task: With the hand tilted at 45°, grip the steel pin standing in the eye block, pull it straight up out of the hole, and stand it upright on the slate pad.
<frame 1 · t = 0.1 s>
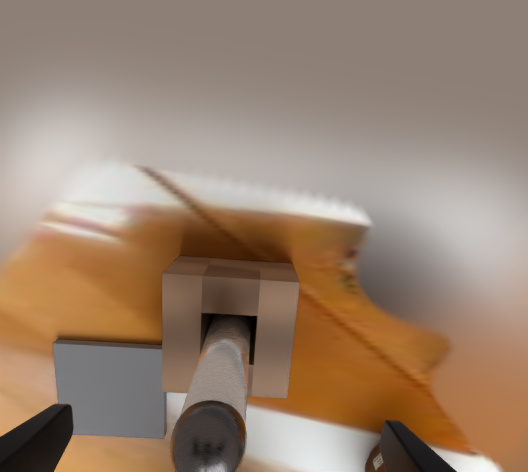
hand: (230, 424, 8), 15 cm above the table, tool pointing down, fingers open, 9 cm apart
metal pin: (233, 311, 23), resting in eye block
eye block: (233, 311, 23), on the table
slate pad: (114, 388, 25), on the table
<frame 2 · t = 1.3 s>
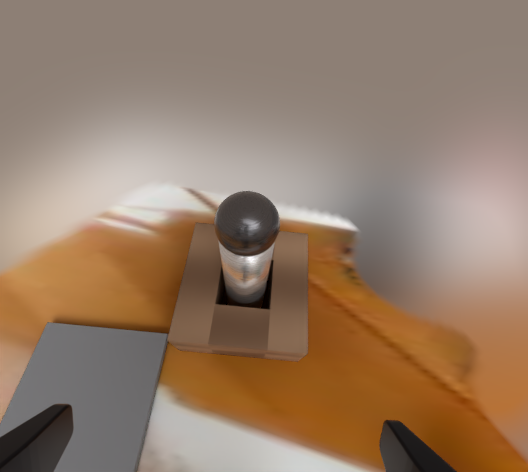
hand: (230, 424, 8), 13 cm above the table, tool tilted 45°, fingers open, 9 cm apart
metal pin: (245, 298, 24), resting in eye block
eye block: (245, 298, 24), on the table
slate pad: (87, 396, 19), on the table
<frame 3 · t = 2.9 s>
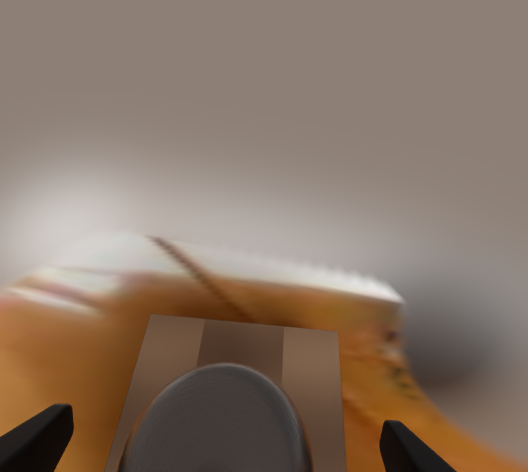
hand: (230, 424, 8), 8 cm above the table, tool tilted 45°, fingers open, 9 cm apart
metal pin: (234, 432, 14), resting in eye block
eye block: (234, 432, 14), on the table
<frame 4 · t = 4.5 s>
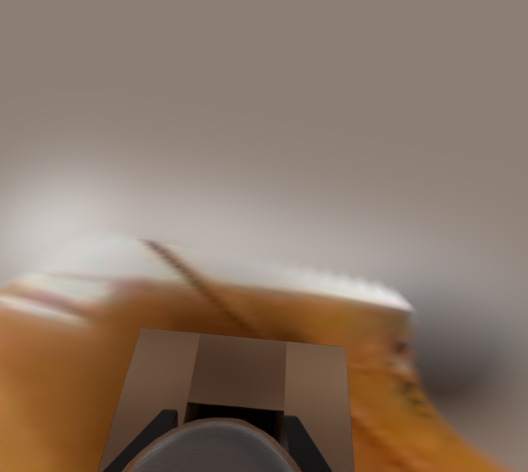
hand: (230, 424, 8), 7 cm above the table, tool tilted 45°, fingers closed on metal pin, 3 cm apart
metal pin: (232, 454, 13), resting in eye block, touching gripper
eye block: (232, 454, 13), on the table
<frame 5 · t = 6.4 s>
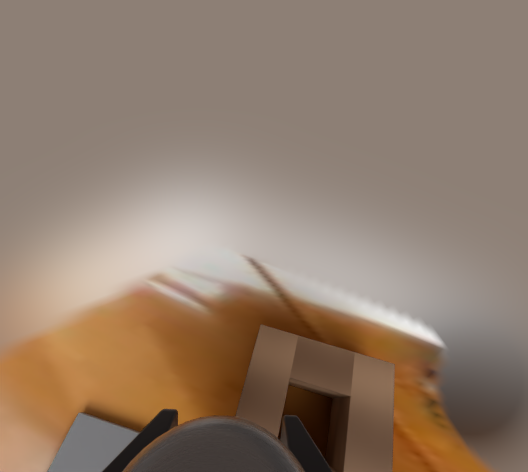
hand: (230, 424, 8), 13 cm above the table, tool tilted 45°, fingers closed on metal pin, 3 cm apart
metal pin: (232, 453, 13), point 6 cm above the table, touching gripper
eye block: (302, 420, 20), on the table
when the fingers open (8 cm above the table, at t = 8.8 s): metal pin stays where it is, resting on slate pad.
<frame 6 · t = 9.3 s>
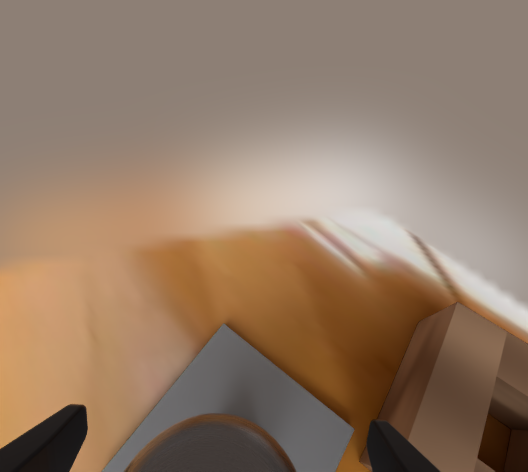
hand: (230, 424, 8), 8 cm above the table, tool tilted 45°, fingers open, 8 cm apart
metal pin: (232, 453, 14), point 1 cm above the table, touching slate pad
eye block: (468, 438, 15), on the table
slate pad: (233, 451, 14), on the table
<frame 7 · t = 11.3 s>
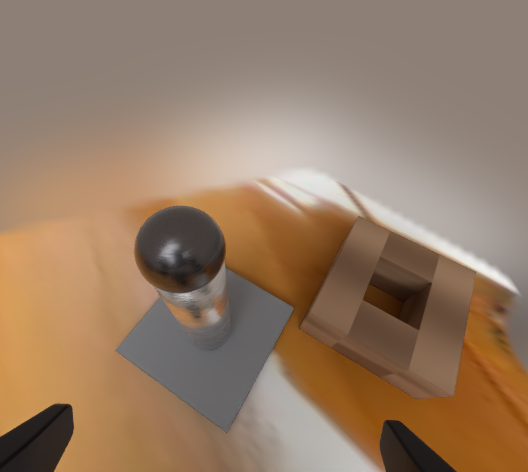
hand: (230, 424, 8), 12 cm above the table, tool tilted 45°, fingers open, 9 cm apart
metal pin: (210, 328, 20), point 1 cm above the table, touching slate pad
eye block: (374, 309, 22), on the table
slate pad: (211, 329, 21), on the table
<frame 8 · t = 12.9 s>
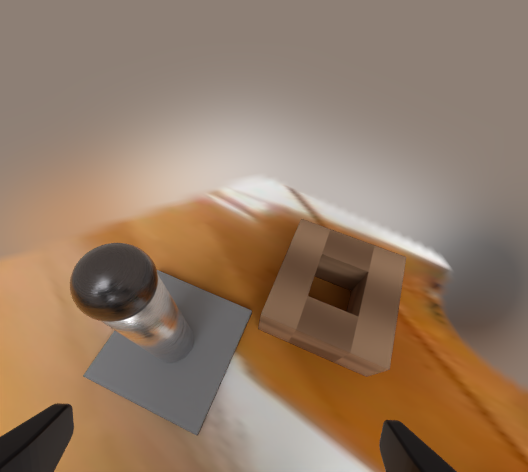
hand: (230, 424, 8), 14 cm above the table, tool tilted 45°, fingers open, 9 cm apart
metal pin: (173, 341, 21), point 1 cm above the table, touching slate pad
eye block: (325, 301, 25), on the table
slate pad: (175, 342, 22), on the table
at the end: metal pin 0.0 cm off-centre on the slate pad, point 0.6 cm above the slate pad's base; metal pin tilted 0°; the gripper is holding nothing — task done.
